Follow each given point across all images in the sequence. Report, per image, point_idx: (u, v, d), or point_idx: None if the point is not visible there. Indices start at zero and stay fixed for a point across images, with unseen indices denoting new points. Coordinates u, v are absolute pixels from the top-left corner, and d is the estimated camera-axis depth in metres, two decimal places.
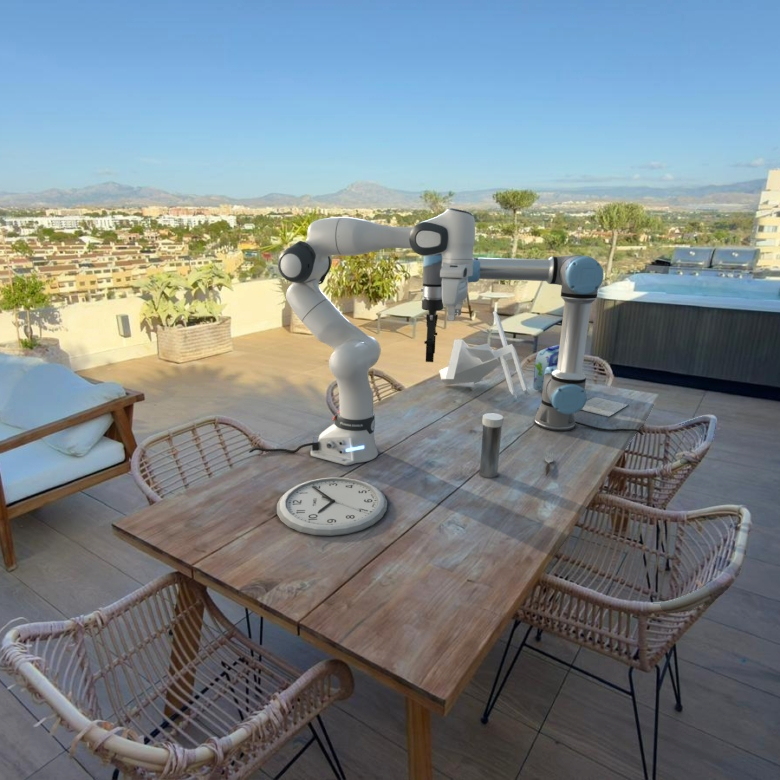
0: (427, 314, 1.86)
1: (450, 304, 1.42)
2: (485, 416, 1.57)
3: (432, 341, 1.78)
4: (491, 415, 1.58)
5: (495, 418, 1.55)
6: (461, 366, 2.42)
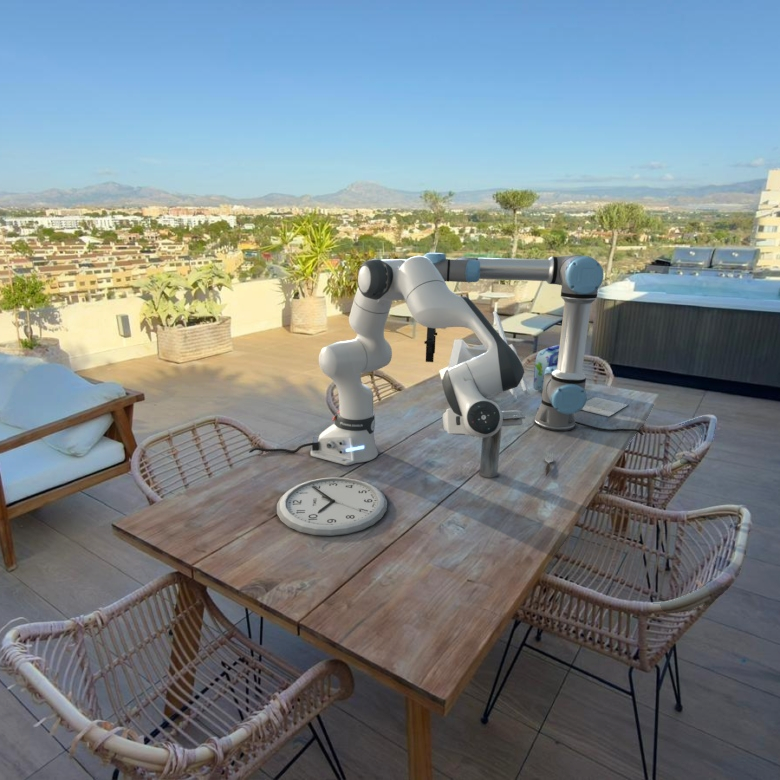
0: None
1: None
2: None
3: (432, 341, 1.78)
4: None
5: None
6: None
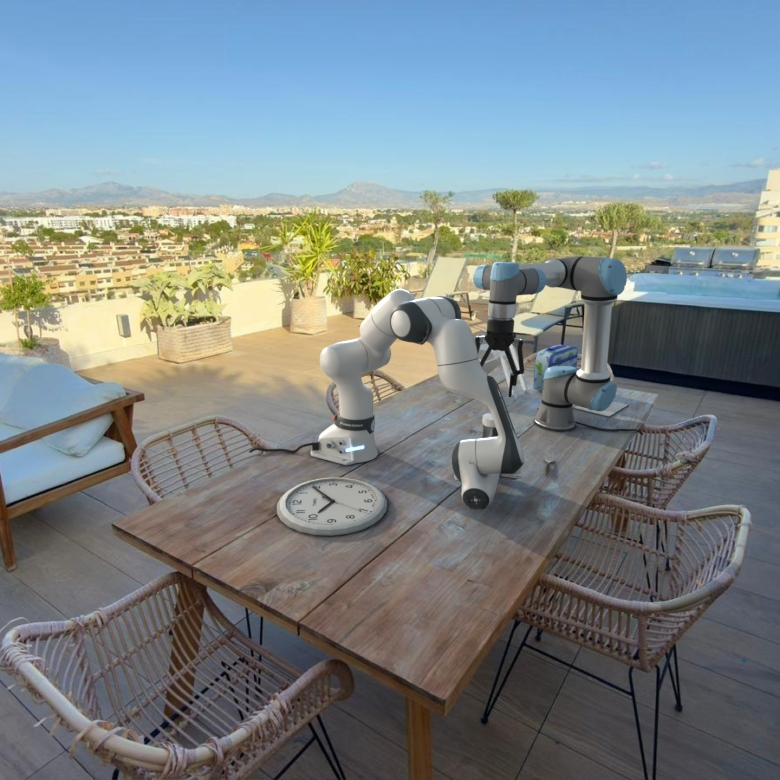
0: None
1: None
2: (485, 416, 1.57)
3: None
4: (491, 415, 1.58)
5: None
6: None
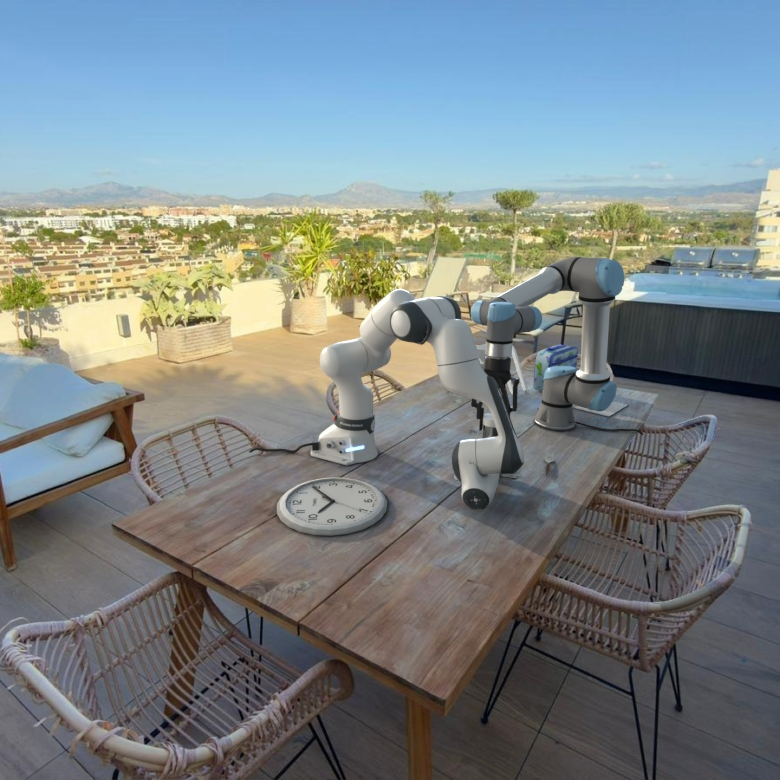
0: None
1: None
2: (485, 416, 1.57)
3: None
4: (491, 415, 1.58)
5: None
6: None
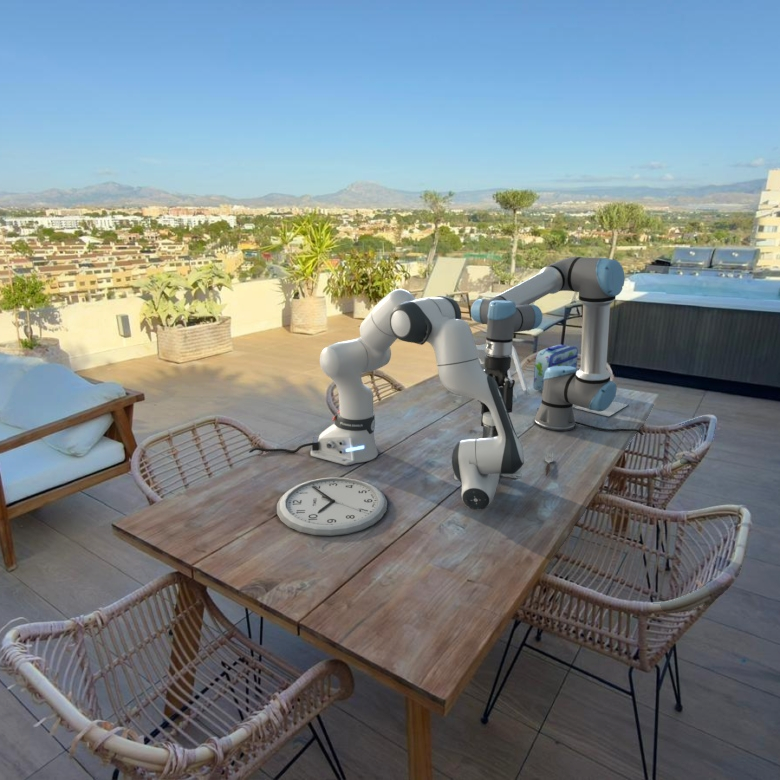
0: (489, 373, 1.53)
1: None
2: None
3: (511, 410, 1.51)
4: None
5: None
6: None
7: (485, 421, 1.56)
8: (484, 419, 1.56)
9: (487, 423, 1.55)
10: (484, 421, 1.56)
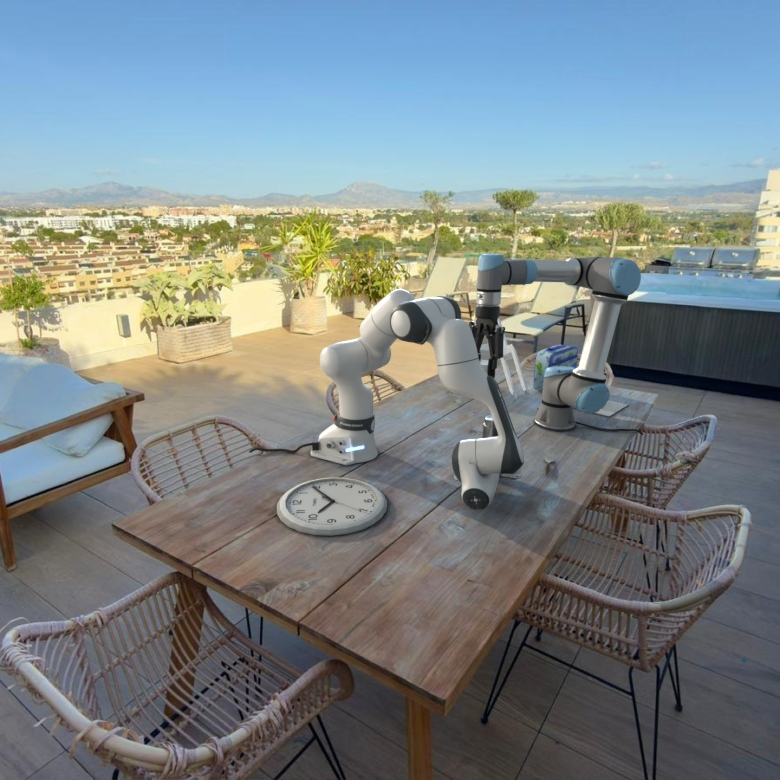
0: (480, 323, 1.65)
1: None
2: None
3: (502, 356, 1.63)
4: (483, 363, 1.68)
5: (485, 361, 1.70)
6: None
7: None
8: None
9: None
10: None
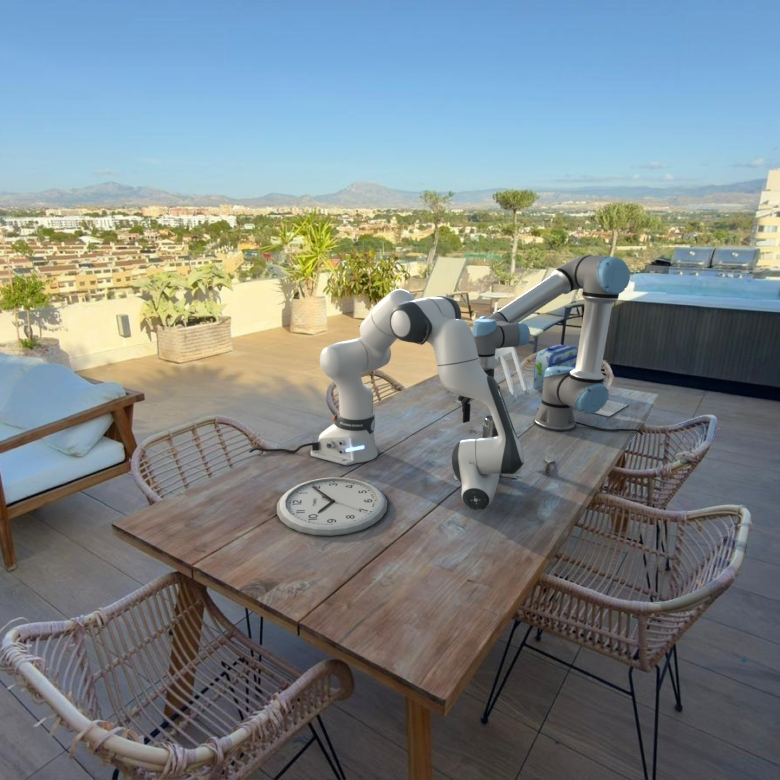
0: None
1: None
2: None
3: None
4: None
5: None
6: None
7: None
8: None
9: None
10: None
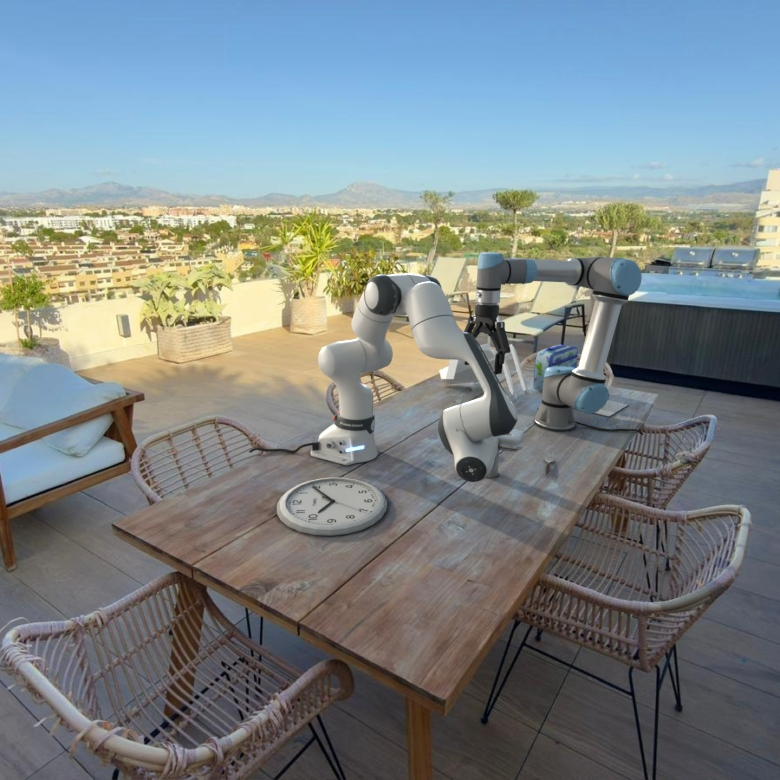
0: (479, 322, 1.66)
1: None
2: None
3: (509, 350, 1.61)
4: None
5: None
6: (461, 366, 2.42)
7: None
8: None
9: None
10: None
